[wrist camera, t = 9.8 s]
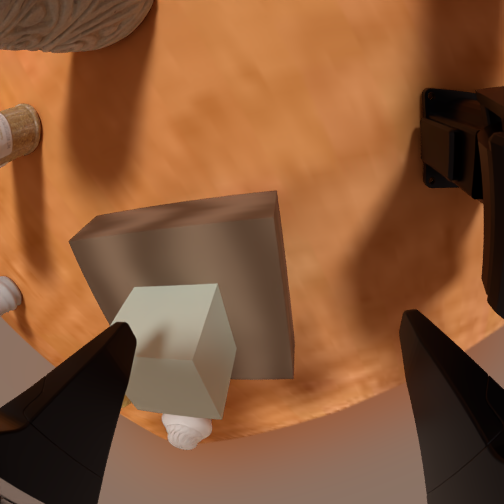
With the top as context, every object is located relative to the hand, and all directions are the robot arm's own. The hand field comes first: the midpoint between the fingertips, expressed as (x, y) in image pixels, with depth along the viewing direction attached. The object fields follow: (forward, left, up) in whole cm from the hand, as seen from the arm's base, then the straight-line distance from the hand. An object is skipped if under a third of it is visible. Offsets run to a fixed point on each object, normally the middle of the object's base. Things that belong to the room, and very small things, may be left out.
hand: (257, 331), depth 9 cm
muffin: (+13, +25, -12) cm, 31 cm away
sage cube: (+7, +7, -8) cm, 13 cm away
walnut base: (+7, +7, -12) cm, 16 cm away
